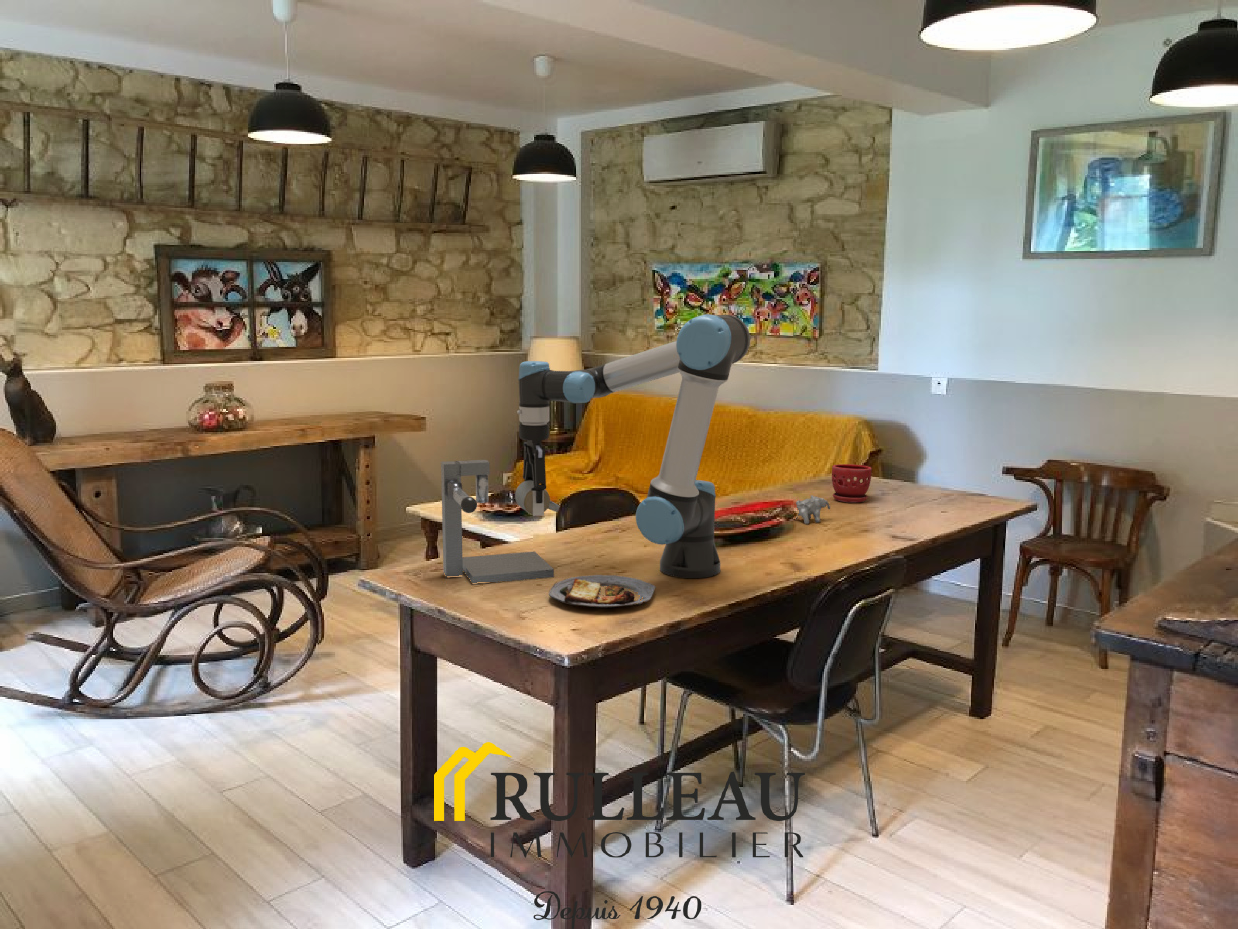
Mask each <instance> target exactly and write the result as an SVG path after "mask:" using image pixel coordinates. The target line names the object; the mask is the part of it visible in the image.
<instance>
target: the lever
mask: <svg viewBox="0 0 1238 929" xmlns="http://www.w3.org/2000/svg"><path fill="white" fill-rule="evenodd" d="M447 496H448V499H449V500H451V499H455V500H456V501H457V502H458V504H459V505H460V506H461V509H462V511H463V513H466V514H472V513H474V512H475V511H476V510H477V508H478V503H477V502H476V498H474V497H472V496H470V495H468V494H467V493H466V492H465V491H464V489H463V484H462V481H461V482H452V483H447Z"/></svg>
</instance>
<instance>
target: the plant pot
mask: <svg viewBox="0 0 1238 929" xmlns="http://www.w3.org/2000/svg"><path fill="white" fill-rule="evenodd" d="M831 468H832V469H831V483H832V488H833V490H834V493H832V497H833V498H834V500H836V501H838V502H842V503H848V504H854V503H855V504H858V503H863V502H865V501H867V499H868V497H869V496H868V495H867V492H868V491H869V488H870V486H871V479H872V467H871V466H869V465H868V466H867V465H861V464H853V463H852V464H849V463H848V464H844V463H841V464H833V465H832V466H831ZM855 478H856V480H855ZM861 480H862V482H861Z"/></svg>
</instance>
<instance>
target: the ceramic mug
mask: <svg viewBox="0 0 1238 929" xmlns="http://www.w3.org/2000/svg"><path fill="white" fill-rule="evenodd" d="M531 488H534V484H533V481H531V480H529V481H522V482H521V483H520V484H519V485H518V486H517V488H516V489H515V493H514V494H515V495H514V497H515V502H516V504H517V505H518V506H519V507H520V508H521V509H522V510H524V511H525V512H527V513H528V514H531V515H533V491H531ZM560 507H561V506H560V505H559V504H557V503H555V502H554V501H552V500H551V496H550V495H549V492H548V490H546V489H544V513H545V512H546V511H547V510H550V511H553V512H555V513H558V512H559V510H560Z"/></svg>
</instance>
